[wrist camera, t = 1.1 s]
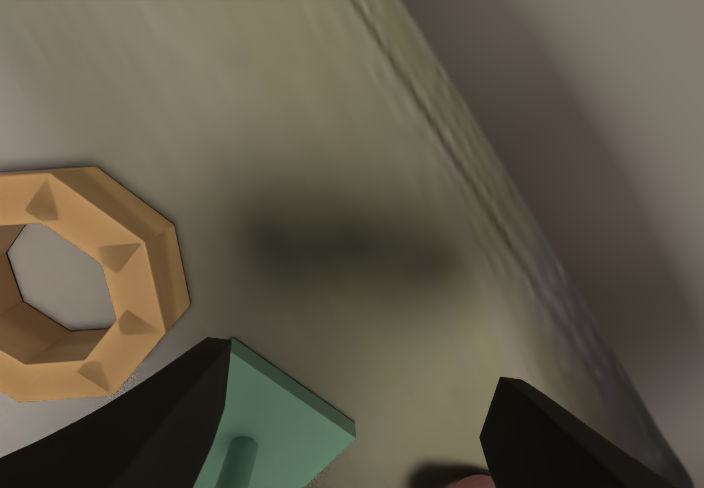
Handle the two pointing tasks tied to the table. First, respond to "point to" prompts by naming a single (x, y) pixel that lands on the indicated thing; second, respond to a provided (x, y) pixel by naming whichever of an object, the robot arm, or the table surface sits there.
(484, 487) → the video game controller
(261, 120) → the table surface
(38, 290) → the table surface
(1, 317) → the hanging ring
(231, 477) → the green peg stand
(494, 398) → the robot arm
